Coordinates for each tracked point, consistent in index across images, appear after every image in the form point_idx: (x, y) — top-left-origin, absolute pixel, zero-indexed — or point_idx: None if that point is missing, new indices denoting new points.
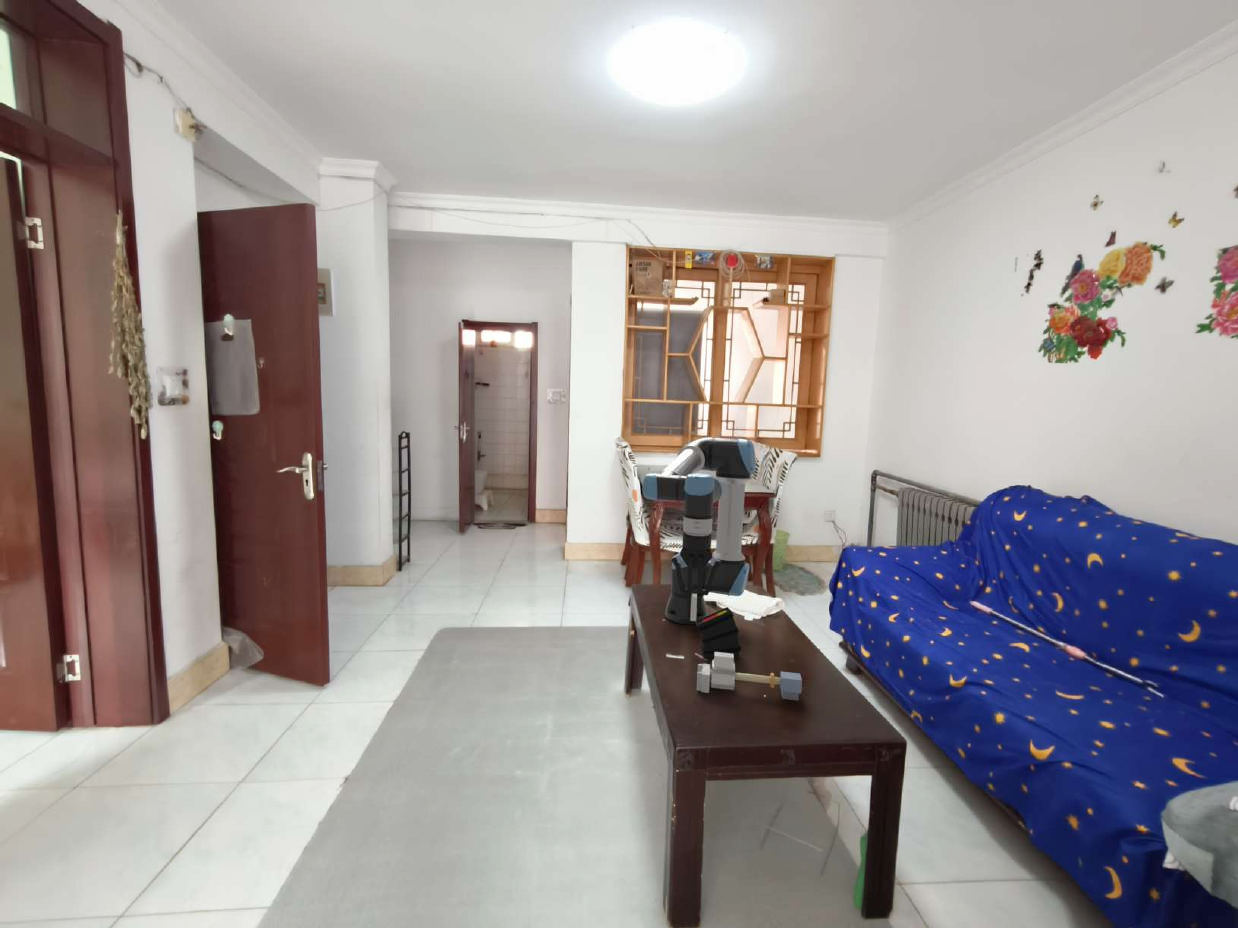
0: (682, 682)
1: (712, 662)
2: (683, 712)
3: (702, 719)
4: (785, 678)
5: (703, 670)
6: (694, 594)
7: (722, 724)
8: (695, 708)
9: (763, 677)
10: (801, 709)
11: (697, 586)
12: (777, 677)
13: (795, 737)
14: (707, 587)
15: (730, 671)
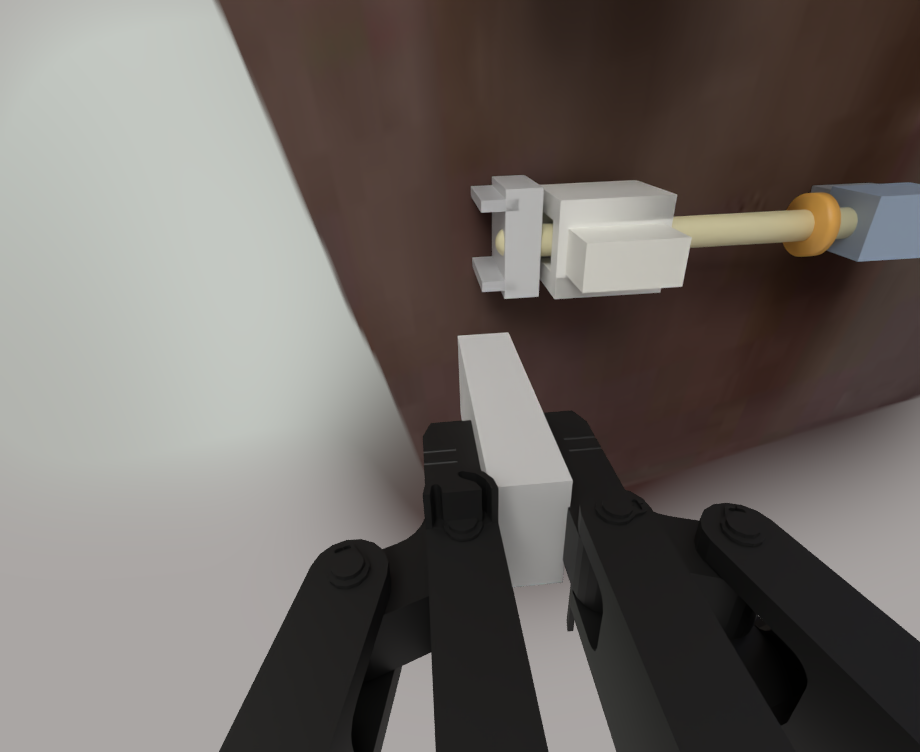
0: (408, 217)
1: (560, 233)
2: (439, 411)
3: None
4: (871, 259)
5: (509, 261)
6: (529, 507)
7: None
8: None
9: (776, 238)
10: (835, 286)
11: (615, 740)
12: (841, 225)
13: (750, 430)
14: (779, 714)
15: (637, 292)
